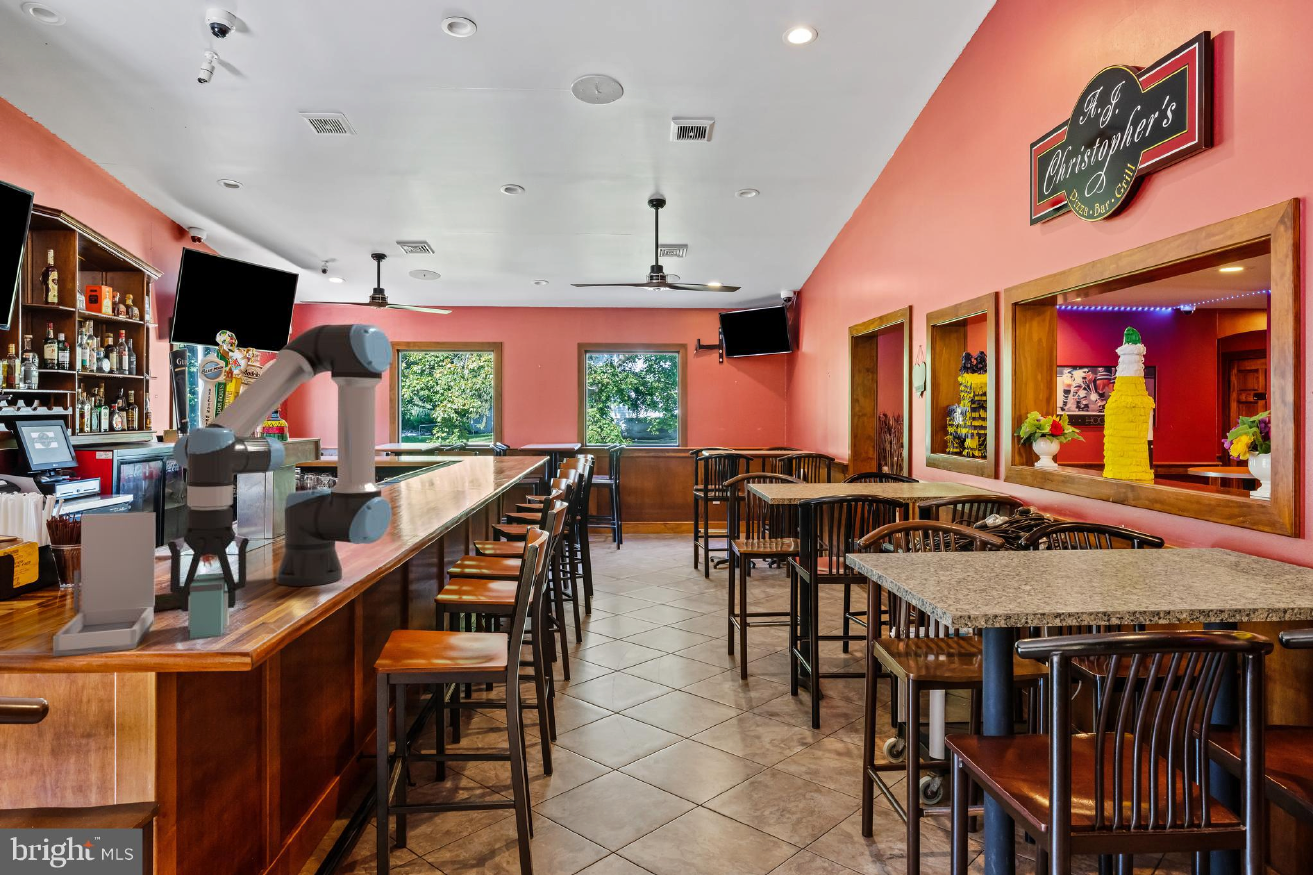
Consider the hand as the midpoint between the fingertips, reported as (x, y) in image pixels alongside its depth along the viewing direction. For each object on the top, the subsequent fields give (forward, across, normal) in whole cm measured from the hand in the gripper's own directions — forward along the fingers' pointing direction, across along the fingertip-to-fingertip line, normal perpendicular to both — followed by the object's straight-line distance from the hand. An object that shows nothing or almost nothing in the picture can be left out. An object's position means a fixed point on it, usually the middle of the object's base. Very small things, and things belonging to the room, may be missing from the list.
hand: (208, 625), depth 139 cm
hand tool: (+1, +10, -18) cm, 21 cm away
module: (+1, 0, 0) cm, 1 cm away
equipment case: (+1, +16, 0) cm, 16 cm away
